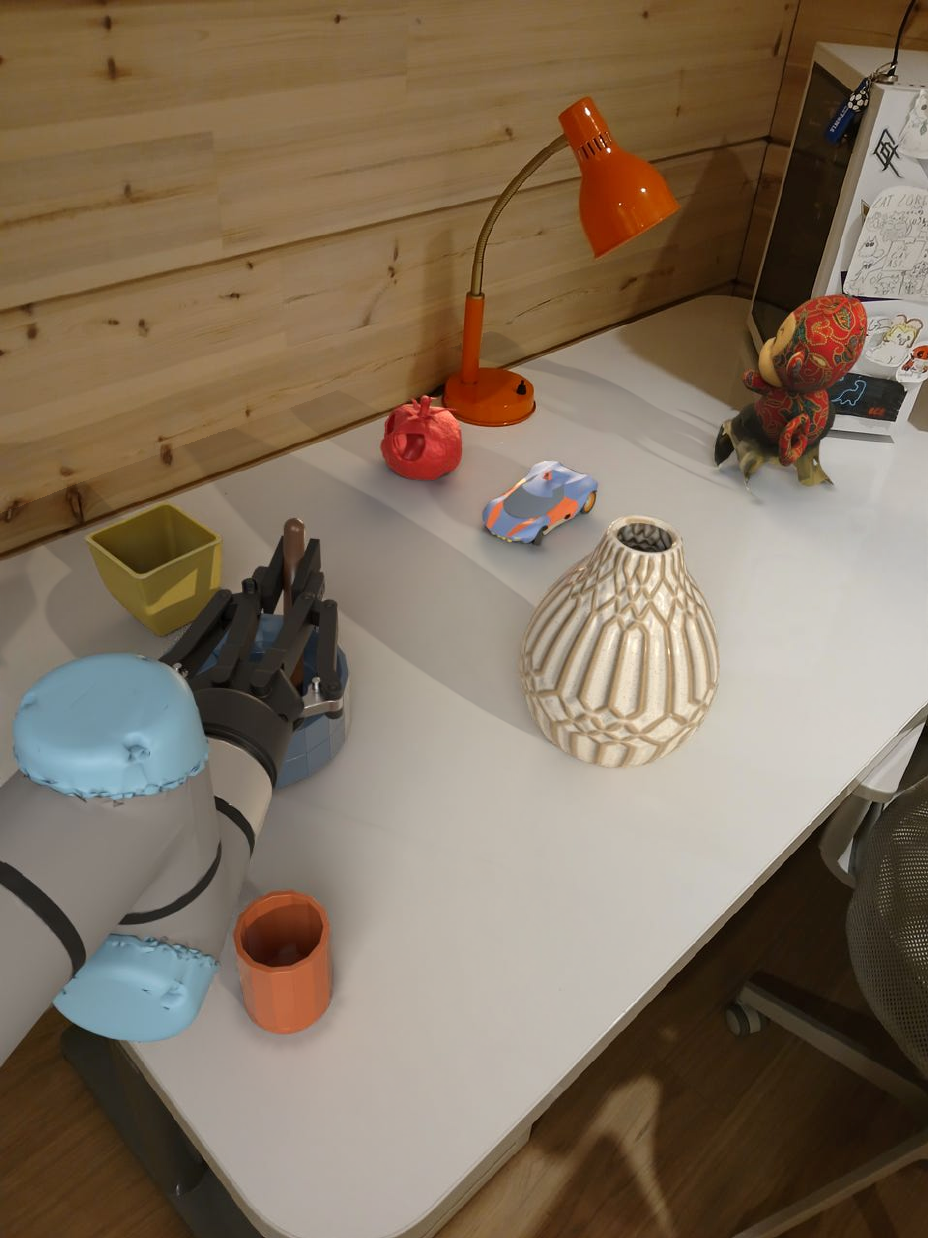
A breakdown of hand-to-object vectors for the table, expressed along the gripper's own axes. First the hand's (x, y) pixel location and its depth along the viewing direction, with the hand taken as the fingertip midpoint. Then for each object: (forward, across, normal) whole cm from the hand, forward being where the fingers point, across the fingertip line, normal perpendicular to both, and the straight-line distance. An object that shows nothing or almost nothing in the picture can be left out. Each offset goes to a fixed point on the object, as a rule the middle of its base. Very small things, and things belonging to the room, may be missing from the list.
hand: (301, 551), depth 76 cm
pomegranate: (+39, +5, -14) cm, 42 cm away
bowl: (-6, -3, -14) cm, 16 cm away
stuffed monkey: (+43, +47, -14) cm, 65 cm away
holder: (-29, +5, -14) cm, 33 cm away
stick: (-6, 0, -11) cm, 13 cm away
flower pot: (+7, -15, -14) cm, 22 cm away
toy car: (+30, +19, -14) cm, 38 cm away
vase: (-2, +26, -14) cm, 30 cm away
